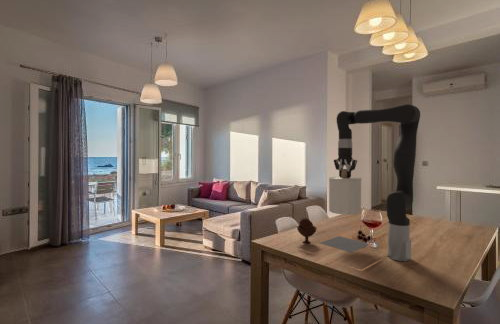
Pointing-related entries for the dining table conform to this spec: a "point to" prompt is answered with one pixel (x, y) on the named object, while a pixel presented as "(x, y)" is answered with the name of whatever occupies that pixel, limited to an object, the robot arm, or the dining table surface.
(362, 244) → the mat
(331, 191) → the white cylindrical cover
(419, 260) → the dining table surface
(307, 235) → the ice cream bowl
